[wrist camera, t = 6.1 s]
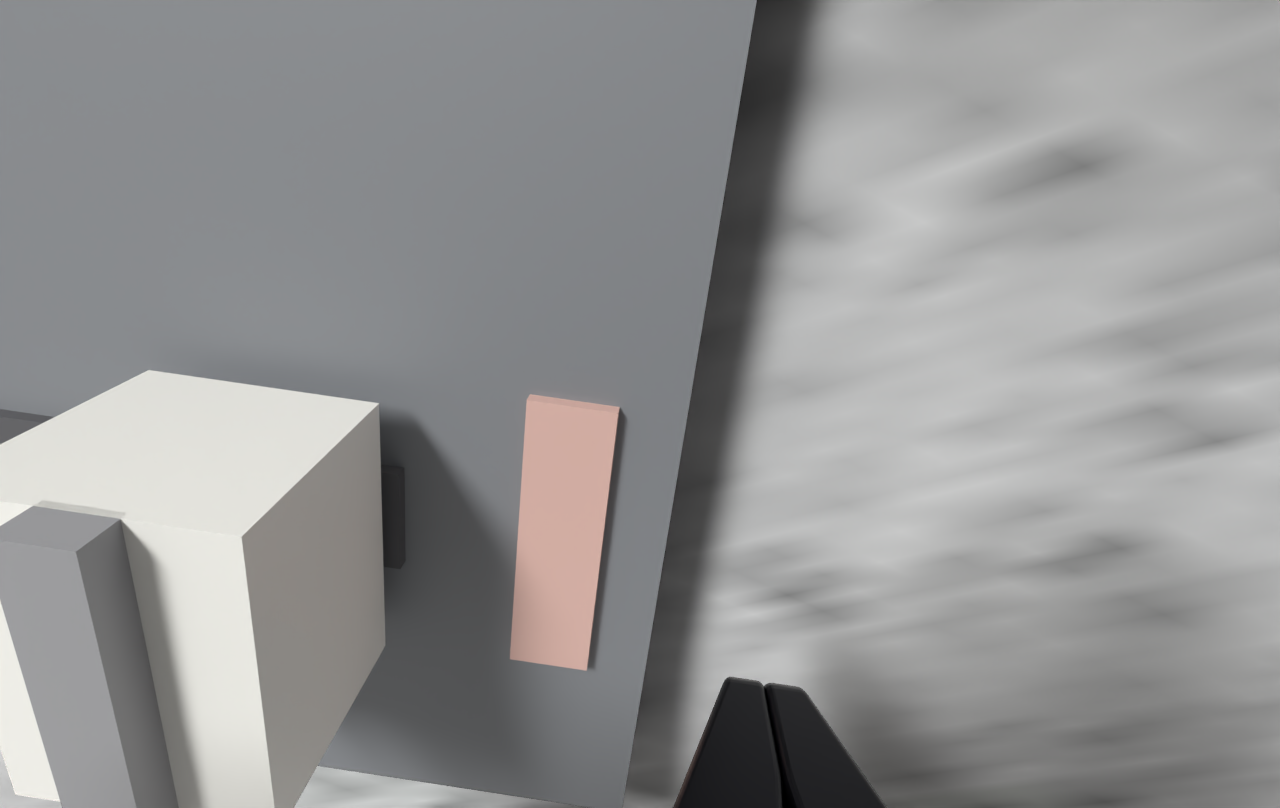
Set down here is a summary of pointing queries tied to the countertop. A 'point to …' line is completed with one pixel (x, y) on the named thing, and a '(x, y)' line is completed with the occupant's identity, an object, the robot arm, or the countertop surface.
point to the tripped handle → (187, 592)
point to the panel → (405, 307)
